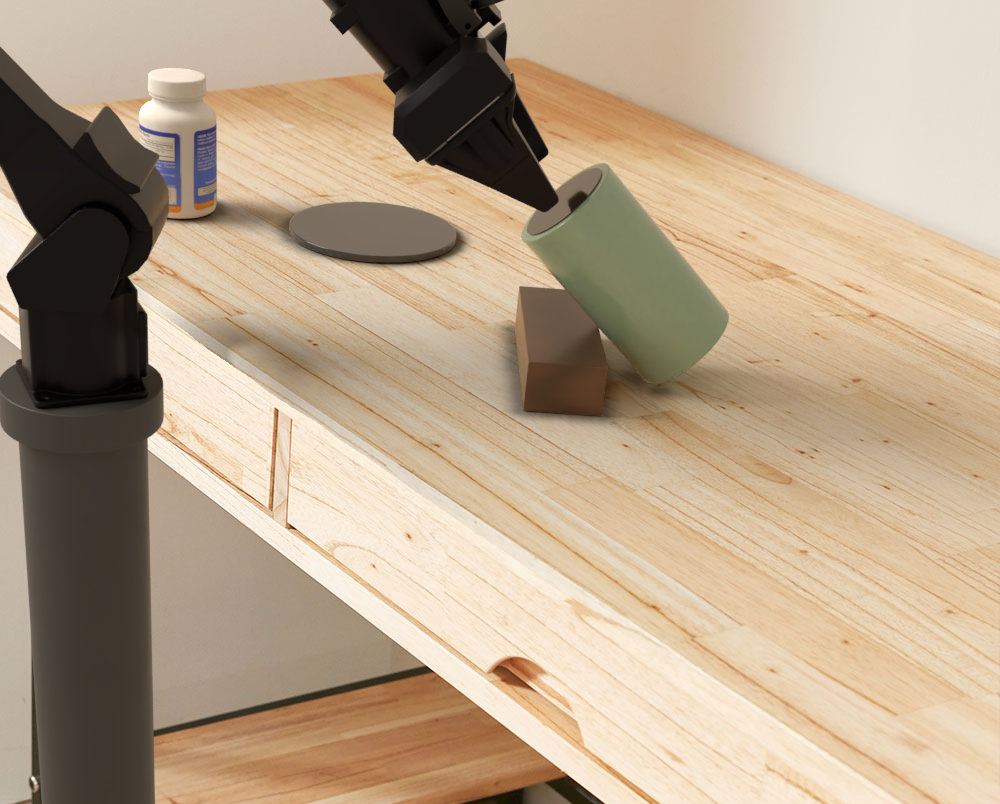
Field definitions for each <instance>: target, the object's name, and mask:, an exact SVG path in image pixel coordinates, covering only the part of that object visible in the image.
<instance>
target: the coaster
mask: <svg viewBox="0 0 1000 804" xmlns="http://www.w3.org/2000/svg"><path fill="white" fill-rule="evenodd" d="M288 225H289V226H288V232H289V234H290V236H291V238H292V239H293V240H294V241H295V242H297V244H299V245H301V246H302V247H305V248H306V249H308V250H310V251H313V252H316V253H318V254H321V255H326V256H329V257H332V258H338V259H342V260H348V261H353V262H354V261H355V262H361V263H362V262H364V263H377V264H398V263H411V262H419V261H425V260H430V259H434V258H437V257H439V256H442V255H444V254H447V253H448V252H449V251H451V250H452V249H453V248H454V247H455V245H456V243H457V231H456V229H455V228H454V226H453V225H452V224H451V223H450V222H448V221H447V220H446V219H443V218H442V217H440V216H438V215H436V214H433V213H430V212H427V211H424V210H421V209H418V208H414V207H409V206H405V205H400V204H399V205H398V204H393V203H386V202H385V203H384V202H375V201H374V202H373V201H372V202H371V201H341V202H333V203H332V202H331V203H324V204H318V205H314V206H311V207H308V208H305V209H302V210H300V211H298V212H296V213H295V214H294V215H293V216H292V217H291V218H290V220H289V223H288Z"/></svg>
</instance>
